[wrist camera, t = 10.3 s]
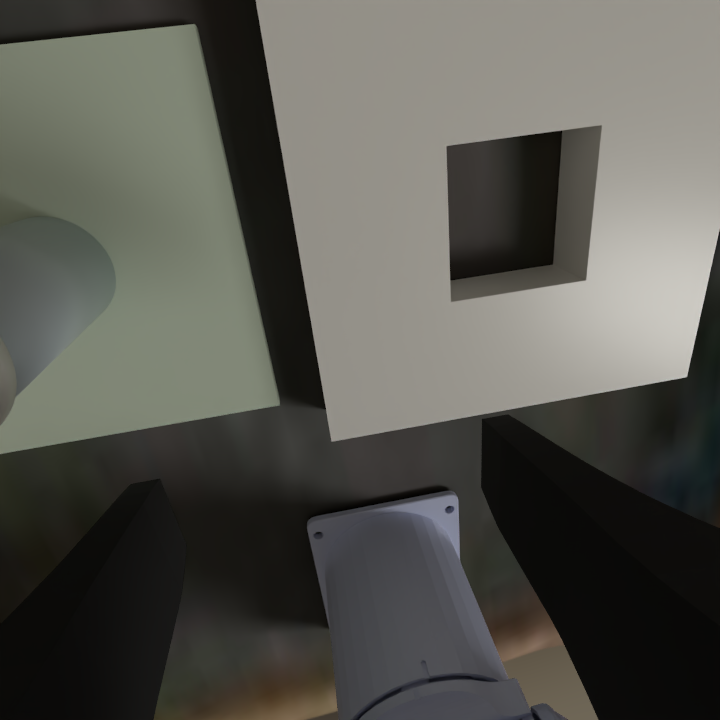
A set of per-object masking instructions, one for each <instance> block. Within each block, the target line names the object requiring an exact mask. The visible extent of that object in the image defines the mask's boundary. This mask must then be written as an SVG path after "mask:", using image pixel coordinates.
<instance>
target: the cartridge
mask: <svg viewBox="0 0 720 720" xmlns="http://www.w3.org/2000/svg"><path fill="white" fill-rule="evenodd" d="M115 288H116V276H115V270H114V267H113V264H112V261H111V259H110V257H109V255H108V254H107V252H106V250H105V249H104V248H103V246H102V245H101V244H100V243H99V242H98V241H97V240H96V238H94V237H93V236H92V235H91V234H90V233H88V232H87V231H86V230H84V229H83V228H81V227H79V226H77V225H75V224H73V223H71V222H69V221H66V220H63V219H59V218H54V217H45V216H39V217H31V218H26V219H23V220H20V221H16V222H13V223H10V224H7V225H4V226H1V227H0V425H1V424H2V423H3V422H4V421H5V419H6V418H7V416H8V415H9V413H10V411H11V409H12V407H13V404H14V400H15V398H16V397H17V396H18V395H19V394H20V393H21V392H22V391H23V390H24V389H25V388H26V387H27V386H28V385H29V384H30V383H31V382H32V381H33V380H34V379H35V378H36V377H37V376H38V375H39V374H40V373H41V372H42V371H43V370H44V369H45V368H46V367H47V366H48V365H49V364H50V363H51V362H52V361H53V360H54V359H55V358H56V357H57V356H59V355H60V354H61V353H62V352H63V351H64V350H65V349H66V348H67V347H68V346H69V345H70V344H71V343H72V342H73V341H74V340H75V339H76V338H77V337H78V336H79V335H80V334H81V333H82V332H83V331H84V330H85V329H86V328H87V327H88V326H89V325H90V324H91V323H92V322H93V321H94V320H95V319H96V318H97V317H98V316H99V315H100V314H101V313H102V312H103V311H104V310H106V308H107V307H108V306H109V304H110V303H111V301H112V299H113V296H114V293H115Z"/></svg>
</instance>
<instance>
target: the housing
mask: <svg viewBox="0 0 720 720" xmlns="http://www.w3.org/2000/svg"><path fill="white" fill-rule="evenodd" d="M256 6H257V11H258V17H259V23H260V29H261V35H262V40H263V46H264V52H265V58H266V64H267V70H268V75H269V81H270V87H271V93H272V99H273V104H274V110H275V116H276V122H277V128H278V133H279V139H280V145H281V151H282V157H283V162H284V168H285V174H286V180H287V186H288V191H289V197H290V203H291V209H292V215H293V220H294V226H295V232H296V238H297V244H298V249H299V255H300V261H301V267H302V273H303V278H304V284H305V290H306V296H307V302H308V308H309V313H310V319H311V325H312V331H313V337H314V342H315V348H316V354H317V360H318V366H319V371H320V377H321V383H322V389H323V395H324V400H325V406H326V412H327V418H328V424H329V429H330V435H331V441H332V442H333V441H338V440H344V439H349V438H355V437H360V436H366V435H371V434H377V433H382V432H388V431H393V430H399V429H404V428H410V427H415V426H421V425H426V424H432V423H437V422H443V421H448V420H454V419H459V418H465V417H470V416H476V415H481V414H487V413H492V412H498V411H503V410H509V409H514V408H520V407H525V406H531V405H536V404H542V403H547V402H553V401H558V400H564V399H569V398H575V397H580V396H586V395H591V394H597V393H602V392H608V391H613V390H619V389H624V388H630V387H635V386H641V385H646V384H651V383H657V382H662V381H668V380H673V379H679V378H684V377H687V374H688V369H689V365H690V360H691V356H692V351H693V347H694V342H695V338H696V333H697V329H698V324H699V320H700V315H701V311H702V306H703V302H704V297H705V292H706V288H707V283H708V279H709V274H710V270H711V265H712V261H713V256H714V252H715V247H716V243H717V238H718V234H719V229H720V0H256ZM561 130H562V143H561V157H560V171H559V186H558V200H557V215H556V229H555V243H554V258H553V265H546V266H540V267H534V268H527V269H521V270H515V271H508V272H502V273H496V274H489V275H483V276H476V277H470V278H464V279H457V280H451V281H450V256H449V223H448V189H447V155H446V146H449V145H456V144H464V143H471V142H479V141H486V140H494V139H501V138H509V137H516V136H524V135H531V134H539V133H546V132H554V131H561Z"/></svg>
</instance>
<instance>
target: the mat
mask: <svg viewBox="0 0 720 720" xmlns="http://www.w3.org/2000/svg"><path fill="white" fill-rule="evenodd" d="M39 216H45V217H54V218H59V219H63V220H66V221H69V222H71V223H73V224H75V225H77V226H79V227H81V228H83V229H84V230H86V231H87V232H88V233H90V234H91V235H92V236H93V237H94V238H96V240H97V241H98V242H99V243H100V244H101V245H102V246H103V248H104V249H105V250H106V252H107V254H108V255H109V257H110V259H111V261H112V264H113V267H114V270H115V276H116V288H115V293H114V296H113V299H112V301H111V303H110V304H109V306H108V307H107V308H106V310H104V311H103V312H102V313H101V314H100V315H99V316H98V317H97V318H96V319H95V320H94V321H93V322H92V323H91V324H90V325H89V326H88V327H87V328H86V329H85V330H84V331H83V332H82V333H81V334H80V335H79V336H78V337H77V338H76V339H75V340H74V341H73V342H72V343H71V344H70V345H69V346H68V347H67V348H66V349H65V350H64V351H63V352H62V353H61V354H60V355H59V356H57V357H56V358H55V359H54V360H53V361H52V362H51V363H50V364H49V365H48V366H47V367H46V368H45V369H44V370H43V371H42V372H41V373H40V374H39V375H38V376H37V377H36V378H35V379H34V380H33V381H32V382H31V383H30V384H29V385H28V386H27V387H26V388H25V389H24V390H23V391H22V392H21V393H20V394H19V395H18V396H17V397H16V398H15V400H14V404H13V407H12V409H11V411H10V413H9V415H8V416H7V418H6V419H5V421H4V422H3V423H2V424H1V425H0V454H2V453H8V452H14V451H19V450H25V449H31V448H37V447H42V446H48V445H54V444H60V443H65V442H71V441H77V440H83V439H88V438H94V437H100V436H106V435H111V434H117V433H123V432H129V431H134V430H140V429H146V428H151V427H157V426H163V425H169V424H174V423H180V422H186V421H192V420H197V419H203V418H209V417H215V416H220V415H226V414H232V413H238V412H243V411H249V410H255V409H261V408H266V407H272V406H278V405H280V398H279V394H278V389H277V385H276V380H275V376H274V371H273V367H272V362H271V358H270V353H269V349H268V344H267V340H266V335H265V331H264V326H263V322H262V317H261V313H260V308H259V304H258V299H257V295H256V290H255V286H254V281H253V277H252V272H251V268H250V263H249V258H248V254H247V249H246V245H245V240H244V236H243V231H242V227H241V222H240V218H239V213H238V209H237V204H236V200H235V195H234V191H233V186H232V182H231V177H230V173H229V168H228V164H227V159H226V155H225V150H224V146H223V141H222V137H221V132H220V128H219V123H218V119H217V114H216V109H215V105H214V100H213V96H212V91H211V87H210V82H209V78H208V73H207V69H206V64H205V60H204V55H203V51H202V46H201V42H200V37H199V33H198V28H197V26H196V25H195V24H189V25H180V26H171V27H161V28H152V29H142V30H133V31H124V32H114V33H105V34H96V35H86V36H77V37H67V38H58V39H49V40H39V41H30V42H21V43H11V44H2V45H0V227H1V226H4V225H7V224H10V223H13V222H16V221H20V220H23V219H26V218H31V217H39Z"/></svg>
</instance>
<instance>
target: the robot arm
mask: <svg viewBox="0 0 720 720" xmlns="http://www.w3.org/2000/svg"><path fill="white" fill-rule="evenodd" d="M481 488H482V490H483V493H484V495H485V498H486V500H487V503H488V505H489V507H490V510H491V512H492V514H493V517H494V519H495V521H496V524H497V526H498V528H499V530H500V531H501V533H502V535H503V537H504V539H505V540H506V542H507V544H508V546H509V547H510V549H511V551H512V553H513V554H514V556H515V558H516V560H517V561H518V563H519V565H520V566H521V568H522V570H523V572H524V573H525V575H526V577H527V578H528V580H529V582H530V584H531V585H532V587H533V589H534V591H535V592H536V594H537V596H538V597H539V599H540V601H541V603H542V604H543V606H544V608H545V609H546V611H547V613H548V615H549V616H550V618H551V620H552V622H553V624H554V626H555V627H556V629H557V631H558V633H559V635H560V637H561V639H562V641H563V643H564V645H565V647H566V649H567V651H568V653H569V656H570V658H571V660H572V662H573V664H574V666H575V669H576V671H577V673H578V675H579V677H580V679H581V681H582V684H583V686H584V688H585V690H586V692H587V694H588V697H589V699H590V701H591V704H592V706H593V708H594V710H595V713H596V715H597V717H598V719H599V720H720V528H718V527H715V526H713V525H711V524H708V523H706V522H703V521H701V520H699V519H696V518H694V517H692V516H690V515H688V514H685V513H683V512H681V511H679V510H677V509H674V508H672V507H670V506H668V505H666V504H663V503H661V502H659V501H657V500H655V499H653V498H651V497H649V496H647V495H645V494H643V493H641V492H639V491H637V490H635V489H633V488H631V487H629V486H628V485H626V484H624V483H622V482H620V481H618V480H616V479H614V478H613V477H611V476H609V475H607V474H605V473H604V472H602V471H600V470H598V469H596V468H595V467H593V466H591V465H589V464H588V463H586V462H584V461H583V460H581V459H579V458H578V457H576V456H574V455H573V454H571V453H569V452H568V451H566V450H564V449H563V448H561V447H560V446H558V445H556V444H555V443H553V442H552V441H550V440H548V439H547V438H545V437H544V436H542V435H540V434H539V433H537V432H536V431H534V430H532V429H531V428H529V427H528V426H526V425H525V424H523V423H521V422H520V421H518V420H516V419H515V418H513V417H511V416H510V415H502V416H497V417H492V418H486V419H482V470H481ZM448 506H451V507H449V508H446V507H448ZM307 531H308V535H309V540H310V544H311V549H312V553H313V558H314V562H315V566H316V571H317V575H318V580H319V584H320V589H321V593H322V598H323V602H324V607H325V611H326V616H327V620H328V625H329V629H330V634H331V645H332V655H333V666H334V676H335V687H336V697H337V708H338V718H339V720H568V719H566V718H565V717H563V716H562V715H560V714H559V713H557V712H555V711H554V710H553V709H552V708H551V707H550V706H549V705H547V704H543V703H542V704H538V705H535V706H532V707H531V711H530V708H529V706H528V704H527V702H526V699H525V697H524V694H523V692H522V690H521V688H520V686H519V683H518V681H517V679H515V678H512V679H508V676H507V674H506V671H505V669H504V666H503V664H502V662H501V659H500V657H499V654H498V652H497V650H496V647H495V645H494V642H493V640H492V638H491V635H490V633H489V630H488V628H487V625H486V623H485V621H484V618H483V616H482V613H481V611H480V609H479V606H478V604H477V601H476V599H475V597H474V594H473V592H472V589H471V587H470V584H469V582H468V580H467V577H466V575H465V572H464V570H463V568H462V565H461V563H460V546H459V510H458V498H457V496H456V494H455V493H454V492H453V491H443V492H438V493H433V494H428V495H423V496H417V497H412V498H407V499H402V500H397V501H392V502H387V503H381V504H376V505H371V506H366V507H361V508H356V509H351V510H345V511H340V512H335V513H330V514H325V515H320V516H315V517H312V518H310V519H309V520H308V522H307ZM316 532H321V533H319V534H316ZM186 547H187V545H186V543H185V540H184V538H183V535H182V533H181V530H180V528H179V525H178V523H177V520H176V518H175V515H174V513H173V510H172V508H171V505H170V503H169V501H168V498H167V496H166V493H165V491H164V488H163V486H162V483H161V481H160V479H156V480H151V481H145V482H140V483H135V484H131V485H130V486H129V487H128V488H127V489H126V490H125V491H124V492H123V493H122V494H121V495H120V496H119V497H118V499H117V500H116V501H115V502H114V503H113V504H112V505H111V506H110V508H109V509H108V510H107V511H106V512H105V513H104V514H103V516H102V517H101V518H100V519H99V520H98V521H97V522H96V523H95V525H94V526H93V527H92V528H91V529H90V530H89V531H88V533H87V534H86V535H85V536H84V537H83V538H82V539H81V540H80V541H79V543H78V544H77V545H76V546H75V547H74V548H73V549H72V550H71V551H70V553H69V554H68V555H67V556H66V557H65V558H64V559H63V560H62V561H61V563H60V564H59V565H58V566H57V567H56V568H55V569H54V570H53V571H52V572H51V573H50V574H49V575H48V576H47V577H46V578H45V579H44V580H43V581H42V582H41V583H40V585H39V586H38V587H37V588H36V589H35V590H34V591H33V592H32V593H31V594H30V595H29V596H28V597H27V598H26V599H25V600H24V601H23V602H22V603H21V604H20V605H19V606H18V607H17V608H16V609H15V610H14V611H13V612H12V613H11V614H10V615H9V616H8V617H7V618H6V619H5V620H4V621H3V622H2V623H1V624H0V720H153V719H154V714H155V709H156V704H157V700H158V695H159V691H160V687H161V683H162V678H163V674H164V670H165V665H166V661H167V657H168V652H169V648H170V644H171V639H172V635H173V631H174V626H175V622H176V617H177V613H178V609H179V604H180V599H181V595H182V588H183V579H184V571H185V559H186Z"/></svg>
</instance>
